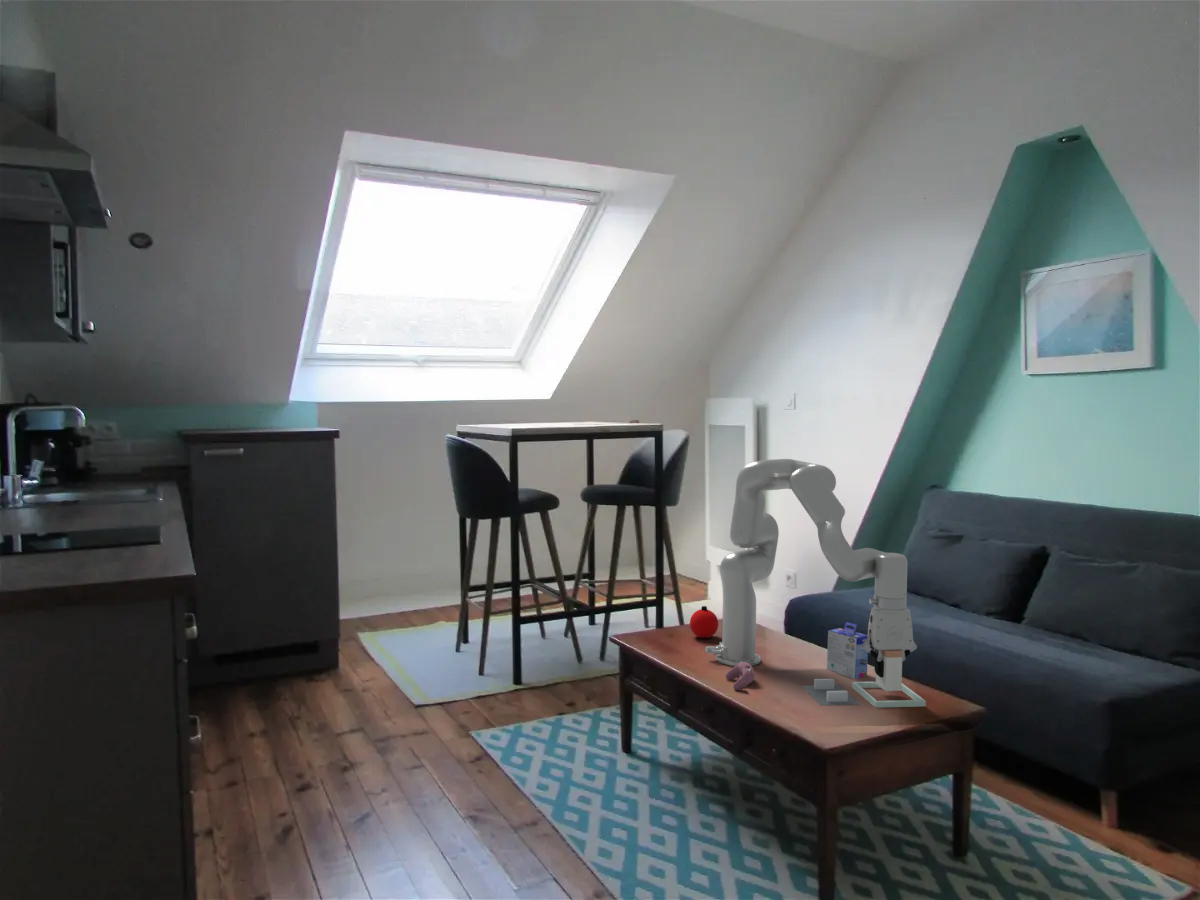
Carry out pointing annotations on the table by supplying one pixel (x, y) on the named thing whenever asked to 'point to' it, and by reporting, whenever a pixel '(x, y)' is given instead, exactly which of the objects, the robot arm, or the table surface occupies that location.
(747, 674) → the video game controller
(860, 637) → the ink cartridge box
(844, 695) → the block
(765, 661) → the table surface
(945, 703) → the table surface
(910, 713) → the table surface
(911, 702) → the tray
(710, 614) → the ornament
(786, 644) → the table surface
